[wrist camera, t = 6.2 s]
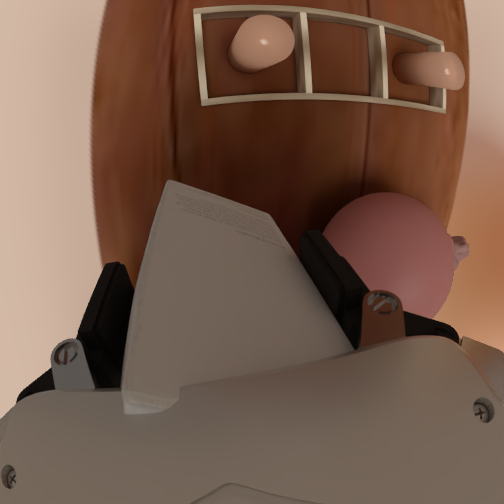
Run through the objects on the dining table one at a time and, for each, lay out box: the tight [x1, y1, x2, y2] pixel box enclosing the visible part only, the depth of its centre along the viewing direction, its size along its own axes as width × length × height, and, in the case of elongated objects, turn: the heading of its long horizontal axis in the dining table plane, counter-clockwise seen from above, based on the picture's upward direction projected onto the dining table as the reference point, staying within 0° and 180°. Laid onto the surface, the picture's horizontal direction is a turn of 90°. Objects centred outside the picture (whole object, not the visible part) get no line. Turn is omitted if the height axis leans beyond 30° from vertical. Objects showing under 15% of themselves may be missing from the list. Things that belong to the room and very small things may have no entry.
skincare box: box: [120, 180, 354, 414], centre depth 10 cm, size 6×4×12 cm
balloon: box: [323, 192, 469, 319], centre depth 28 cm, size 15×20×15 cm
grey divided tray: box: [193, 5, 465, 114], centre depth 19 cm, size 10×28×8 cm, turn 94°
